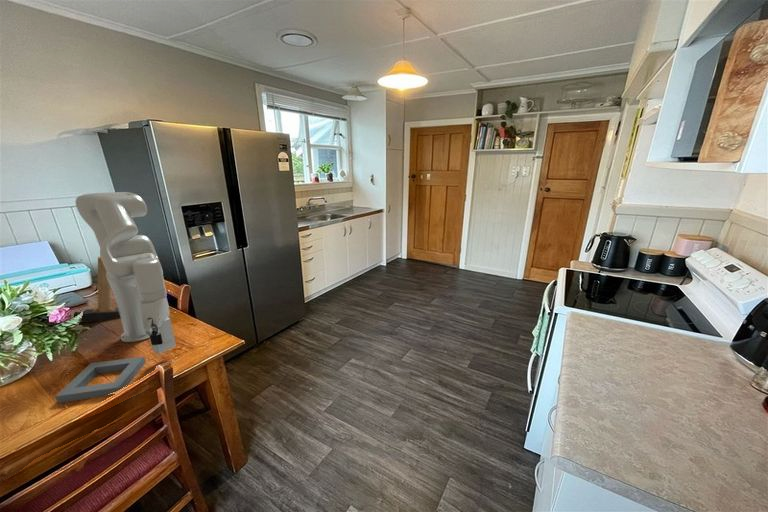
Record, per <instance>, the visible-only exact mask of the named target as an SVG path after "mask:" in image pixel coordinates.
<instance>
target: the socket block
mask: <svg viewBox="0 0 768 512" xmlns="http://www.w3.org/2000/svg"><path fill="white" fill-rule="evenodd" d="M145 364H146V358H145V356H138V357H132V358H121V359H115V360H106V361H99V362H90V363H89V364H88V365H87V366H86V367H85V368H84V369H83V370H82V371H80V373H78V374H77V376H75V377H74V378H73V379H72V380H71V381H70V382H69V383H68V384H67V385H66V386H65V387H64V388H62V390H60V391H59V392H58V393H57V394H56V395H55V399H56V402H57V404H60V403H69V402H75V401H76V402H77V401H81V400H89V399H94V398H95V399H96V398H101V397H107V396H106V395H108V394H110V393H113V392H116V391H118V390H120V389H122V388H123V387H125V386H126V385H128V386H129V385H130V383H131V382H132V381H133V379H134V378H135V377H136V375H137V374H138V373H139V372H140V370H141V369H142V368H143V367H144V365H145ZM118 371H119V372H120V371H122V372H121V373H120V374H118V376H117V377H116V379H115V380H114V381H113V382H106V383H99V384H92V385H88V384H89V383H90V382H91V381H92V380H93V379H94V378H95V376H97V374H104V373H109V372H110V373H111V372H118ZM130 381H131V382H130Z"/></svg>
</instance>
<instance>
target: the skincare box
mask: <svg viewBox="0 0 768 512" xmlns="http://www.w3.org/2000/svg"><path fill="white" fill-rule="evenodd" d="M154 326H157V325H153V326H152V327H154ZM152 330H153V331H156V328H152ZM159 334H161V336H162V341H163V343H162V344H160V345H152V344H151V340H150V336H149V338H148V339H149V340H150V346H151V349H152V351H153V352H154V353H156V354H158V355H161V354H163V353H165V352H166V351H169V350H171V349H173V348H174V347H176V346H177V345H176V339H175V338H176V337H175V334H174V329H173V325H172V320H171V318H170V317H169V318H168V317H167V318H166V319H165V321H164V323H163V324H162V325H161V326H160V332H159Z"/></svg>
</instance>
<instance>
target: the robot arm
mask: <svg viewBox="0 0 768 512" xmlns="http://www.w3.org/2000/svg"><path fill="white" fill-rule="evenodd" d="M75 207H76V209H77V212H78V213H79V215H80V216H81V218H82V219H83V220H84V222H85V223H86V224H87V225H88V226H89V228H91V230H92V232H93V234H94V235H95V236H94V237H95V238H96V242H97V244H98V246H99V255H100V256H99V257H101V260H102V262H103V265H104V267H105V269H106V271H107V272H106V278H107V280H108V282H109V284H110V289H111V290H112V292H113V295H114V298H115V302H116V305H117V306H116V307H117V308H118V310H119V314H120V317H119V318H120V321H121V325H122V328H123V331H124V332H122V334H121V335H120V340H121V341H122V342H124V343H135V342H139V341H140V342H141V341H143V340H146V339H149V340H151V342H150V345H151V344H152V345H160V344H162V343H163V341H162V336H161V334H159V332H160V326H161V325H162V324H163V323H164V321H165V319H166V318H167V317H168V318H170V314H171V313H170V306H169V302H168V298H167V296H168V295H167V289H166V285H165V284H166V283H165V279H164V271H163V268H162V264H161V262H160V259H159V257H158V253H157V252H156V249H155V247H154V246H155V245H154V244H153V242H152V241H151V239H150V238H149V237H148V236H146V235H144V234H138V233H139V229H138V227H137V225H136V223H135V221H134V218H140V217H141V218H143V217H145V216H146V215H147V214H148V206H147V204H146V202H145V200H144V199H143V198H142V196H140V195H138V194H136V193H133V192H128V191H120V192H117V191H116V192H114V191H113V192H93V193H85V194H81V195H79V196H77V197H76V199H75ZM153 325H157V326H154V327H152V326H153ZM152 328H156V331H153V330H152ZM149 336H150V338H149Z"/></svg>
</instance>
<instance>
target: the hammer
mask: <svg viewBox="0 0 768 512" xmlns="http://www.w3.org/2000/svg"><path fill="white" fill-rule="evenodd" d="M106 272H107V271H106V269H105V267H104V265H103V262H102V260H101V257H100V256H98V257H97V308H90V309H89V308H88V309H87V308H86V309H85V310H83V311H81V312H83V316H82V319H81V320H80V321H81V322H82V323H92V322H93V323H94V322H101V321H106V320H113V319H118V318H120V314H119V310H118V307H112V306H111V286H110V284H109V282H108V280H107V278H106ZM81 312H79V311H74V313H73V317H75V316H77V315H78V314H80V313H81Z"/></svg>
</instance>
